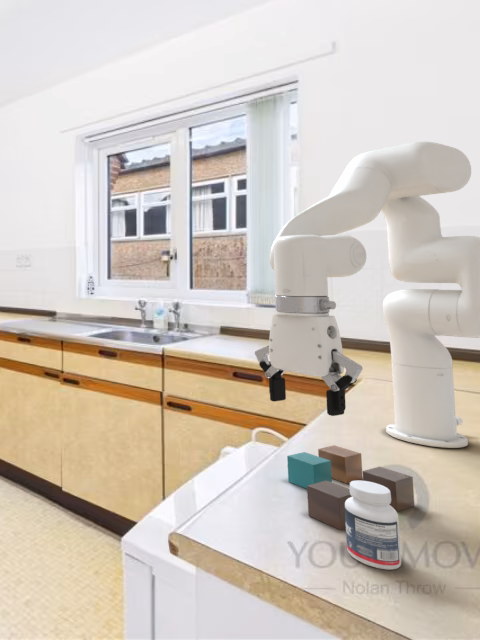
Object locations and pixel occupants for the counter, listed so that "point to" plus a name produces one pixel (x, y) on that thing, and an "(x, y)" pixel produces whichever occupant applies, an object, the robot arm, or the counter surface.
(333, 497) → the brown cube
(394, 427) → the robot arm
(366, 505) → the pill bottle
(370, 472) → the taupe block
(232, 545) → the counter surface
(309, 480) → the teal toy cube
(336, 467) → the caramel wooden cube
